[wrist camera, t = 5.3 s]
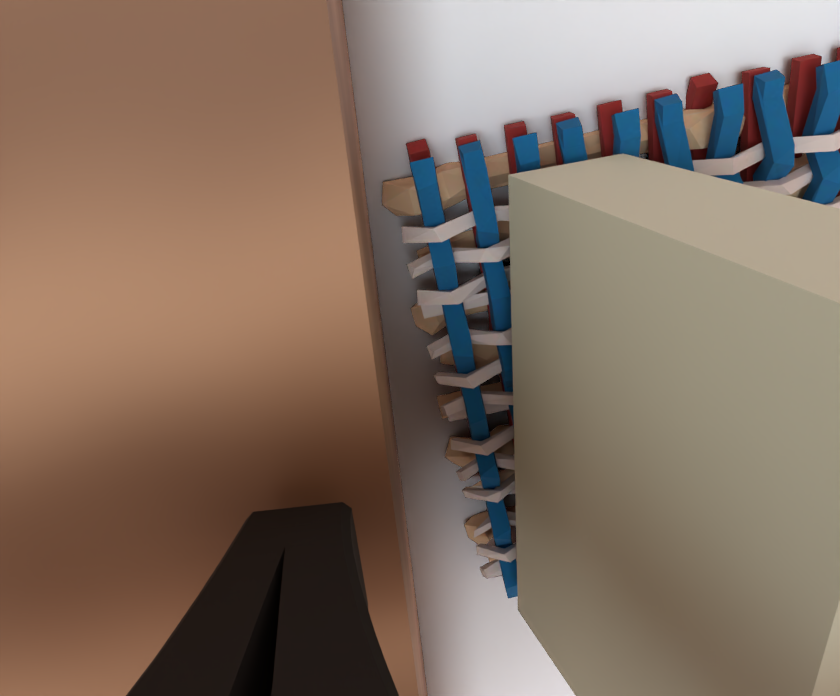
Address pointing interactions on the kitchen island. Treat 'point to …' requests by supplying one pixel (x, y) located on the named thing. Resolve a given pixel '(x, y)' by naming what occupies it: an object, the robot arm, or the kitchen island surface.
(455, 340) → the woven mat
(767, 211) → the beige rectangular box
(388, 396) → the wooden block
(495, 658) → the kitchen island surface
